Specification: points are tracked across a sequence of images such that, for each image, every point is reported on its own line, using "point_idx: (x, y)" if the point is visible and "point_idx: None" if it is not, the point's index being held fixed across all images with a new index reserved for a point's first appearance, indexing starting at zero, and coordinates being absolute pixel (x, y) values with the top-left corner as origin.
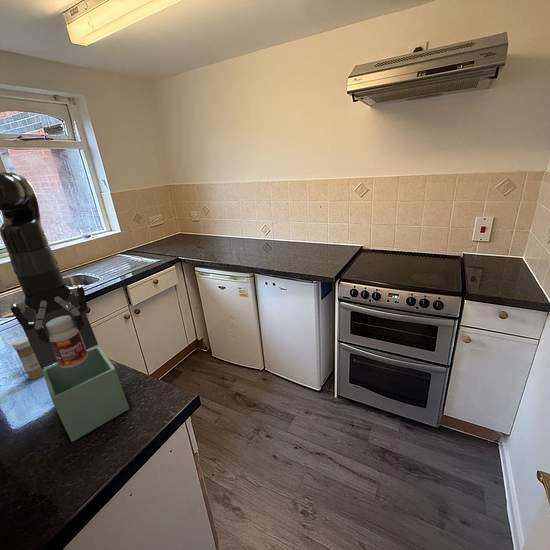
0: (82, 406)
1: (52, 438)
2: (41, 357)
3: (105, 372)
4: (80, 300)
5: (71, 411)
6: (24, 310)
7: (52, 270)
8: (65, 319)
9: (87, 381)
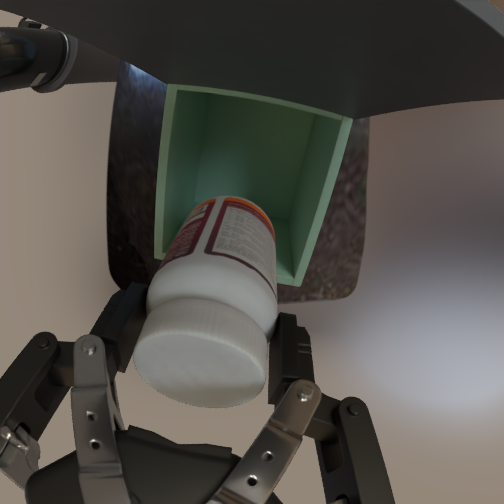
0: None
1: None
2: (165, 76)
3: (277, 280)
4: (324, 483)
5: None
6: (37, 451)
7: None
8: (229, 389)
9: None
